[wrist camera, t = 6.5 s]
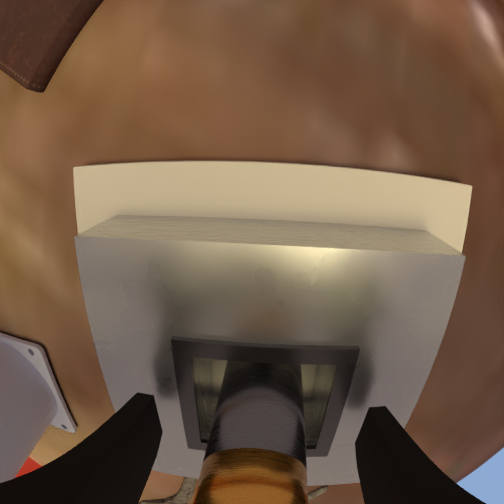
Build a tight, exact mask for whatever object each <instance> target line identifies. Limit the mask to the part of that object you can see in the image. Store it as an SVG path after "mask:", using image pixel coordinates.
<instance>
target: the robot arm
mask: <svg viewBox="0 0 504 504" xmlns="http://www.w3.org/2000/svg"><path fill="white" fill-rule="evenodd" d="M49 425H53V426H55V427H58V428H60V429H63V430H66V431H68V432H71V433H75V432H76V430H77V427H76V425H75V423H74V421H73V419H72V417H71V415H70V413H69V410H68V408H67V406H66V404H65V402H64V399H63V397H62V395H61V392H60V390H59V388H58V385H57V383H56V380H55V378H54V375H53V373H52V370H51V367H50V365H49V362H48V359H47V356H46V354H45V351H44V349H43V348H42V347H41V346H40V345H38V344H35V343H32V342H28V341H25V340H22V339H18V338H15V337H12V336H9V335H6V334H3V333H0V504H138V502H139V500H140V497H141V495H142V492H143V490H144V487H145V485H146V482H147V480H148V477H149V475H150V472H151V470H152V467H153V465H154V462H155V459H156V457H157V453H158V450H159V446H160V442H161V437H162V433H163V431H162V427H161V423H160V419H159V415H158V411H157V406H156V402H155V398H154V395H150V394H144V393H139V392H137V393H136V394H135V395H134V396H133V397H132V398H131V399H130V400H129V401H127V402H126V403H125V404H124V405H123V406H122V407H121V408H120V409H119V410H118V411H117V412H116V413H115V414H114V415H113V416H112V417H111V418H109V419H108V420H107V421H106V422H105V423H104V424H103V425H101V426H100V427H99V428H98V429H97V430H96V431H95V432H93V433H92V434H91V435H90V436H88V437H87V438H86V439H84V440H83V441H82V442H81V443H79V444H78V445H77V446H75V447H74V448H72V449H71V450H70V451H68V452H67V453H65V454H63V455H62V456H60V457H59V458H57V459H55V460H54V461H52V462H50V463H48V464H46V465H44V466H42V467H41V468H38V469H36V470H34V471H32V472H30V473H27V474H25V475H22V476H19V477H17V478H15V477H16V475H17V473H18V472H19V470H20V469H21V467H22V466H23V464H24V462H25V461H26V459H27V457H28V456H29V455H30V453H31V452H32V450H33V449H34V447H35V446H36V444H37V443H38V441H39V440H40V438H41V437H42V435H43V434H44V432H45V431H46V429H47V428H48V426H49ZM355 452H356V463H357V470H358V475H359V479H360V484H361V489H362V493H363V498H364V503H365V504H486V503H484V502H482V501H481V500H479V499H477V498H476V497H474V496H473V495H471V494H470V493H468V492H467V491H465V490H464V489H463V488H461V487H460V486H459V485H457V484H456V483H455V482H454V481H453V480H452V479H450V478H449V477H448V476H447V475H446V474H445V473H443V472H442V471H441V470H440V469H439V468H438V467H437V466H436V465H435V464H434V463H433V462H432V461H431V460H430V459H429V458H428V456H427V455H426V454H425V453H424V452H423V451H422V450H421V449H420V448H419V446H418V445H417V444H416V443H415V442H414V441H413V439H412V438H411V437H410V436H409V435H408V433H407V432H406V431H405V430H404V428H403V427H402V426H401V425H400V423H399V422H398V421H397V420H396V418H395V417H394V416H393V415H392V413H391V412H390V411H389V410H388V408H387V407H386V406H379V407H369V409H368V411H367V414H366V416H365V419H364V422H363V424H362V427H361V429H360V432H359V434H358V436H357V439H356V441H355Z"/></svg>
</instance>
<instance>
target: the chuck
mask: <svg viewBox="0 0 504 504" xmlns="http://www.w3.org/2000/svg"><path fill="white" fill-rule="evenodd" d="M74 239H75V247H76V254H77V261H78V268H79V274H80V280H81V285H82V291H83V296H84V301H85V306H86V311H87V315H88V320H89V324H90V328H91V333H92V337H93V341H94V345H95V348H96V352H97V356H98V360H99V363H100V367H101V370H102V373H103V377H104V380H105V383H106V386H107V389H108V393H109V396H110V399H111V402H112V404H113V407H114V410H115V413H116V412H117V411H118V410H119V409H120V408H121V407H122V406H123V405H124V404H125V403H126V402H127V401H129V400H130V399H131V398H132V397H133V396H134V395H135V394H136V393H137V392H139V393H144V394H150V395H154V398H155V402H156V406H157V411H158V415H159V419H160V423H161V427H162V431H163V433H162V437H161V442H160V446H159V450H158V453H157V457H156V459H155V462H154V465H153V467H152V470H154V471H158V472H163V473H168V474H173V475H178V476H184V477H190V478H196V479H199V476H200V472H201V468H202V464H203V460H204V456H205V451H206V447H207V443H208V439H209V435H210V431H211V427H212V422H213V418H214V414H215V410H216V406H217V402H218V398H219V393H217V392H213V379H212V361H211V359H217V360H229V361H242V362H257V363H276V364H307V365H317V366H316V372H315V377H314V382H313V387H312V392H311V397H303V402H304V419H305V438H306V461H307V486H313V485H334V484H347V483H358V482H360V479H359V475H358V470H357V463H356V452H355V441H356V439H357V436H358V434H359V432H360V429H361V427H362V424H363V422H364V419H365V416H366V414H367V411H368V409H369V407H379V406H386V407H387V408H388V410H389V411H390V412H391V413H392V415H393V416H394V417H395V418H396V420H397V421H398V422H399V423H400V425H401V426H402V427H403V428H404V427H405V426H406V424H407V422H408V420H409V418H410V416H411V413H412V411H413V409H414V407H415V405H416V403H417V401H418V399H419V396H420V394H421V392H422V390H423V387H424V385H425V383H426V380H427V378H428V376H429V373H430V371H431V368H432V366H433V363H434V360H435V358H436V355H437V353H438V350H439V347H440V344H441V342H442V339H443V336H444V333H445V330H446V327H447V324H448V321H449V317H450V314H451V311H452V308H453V304H454V301H455V297H456V294H457V290H458V286H459V282H460V278H461V274H462V270H463V266H464V261H465V257H466V256H465V255H464V254H462V253H461V252H459V251H458V250H456V249H455V248H453V247H452V246H450V245H449V244H447V243H445V242H444V241H442V240H441V239H439V238H438V237H436V236H434V235H433V234H431V233H430V232H428V231H426V230H416V229H404V228H391V227H378V226H365V225H351V224H336V223H320V222H302V221H284V220H264V219H241V218H214V217H182V216H134V215H116V216H114V217H112V218H110V219H108V220H105V221H103V222H101V223H99V224H97V225H95V226H93V227H91V228H89V229H87V230H85V231H84V232H82V233H80V234H78V235H76V236H74Z"/></svg>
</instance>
